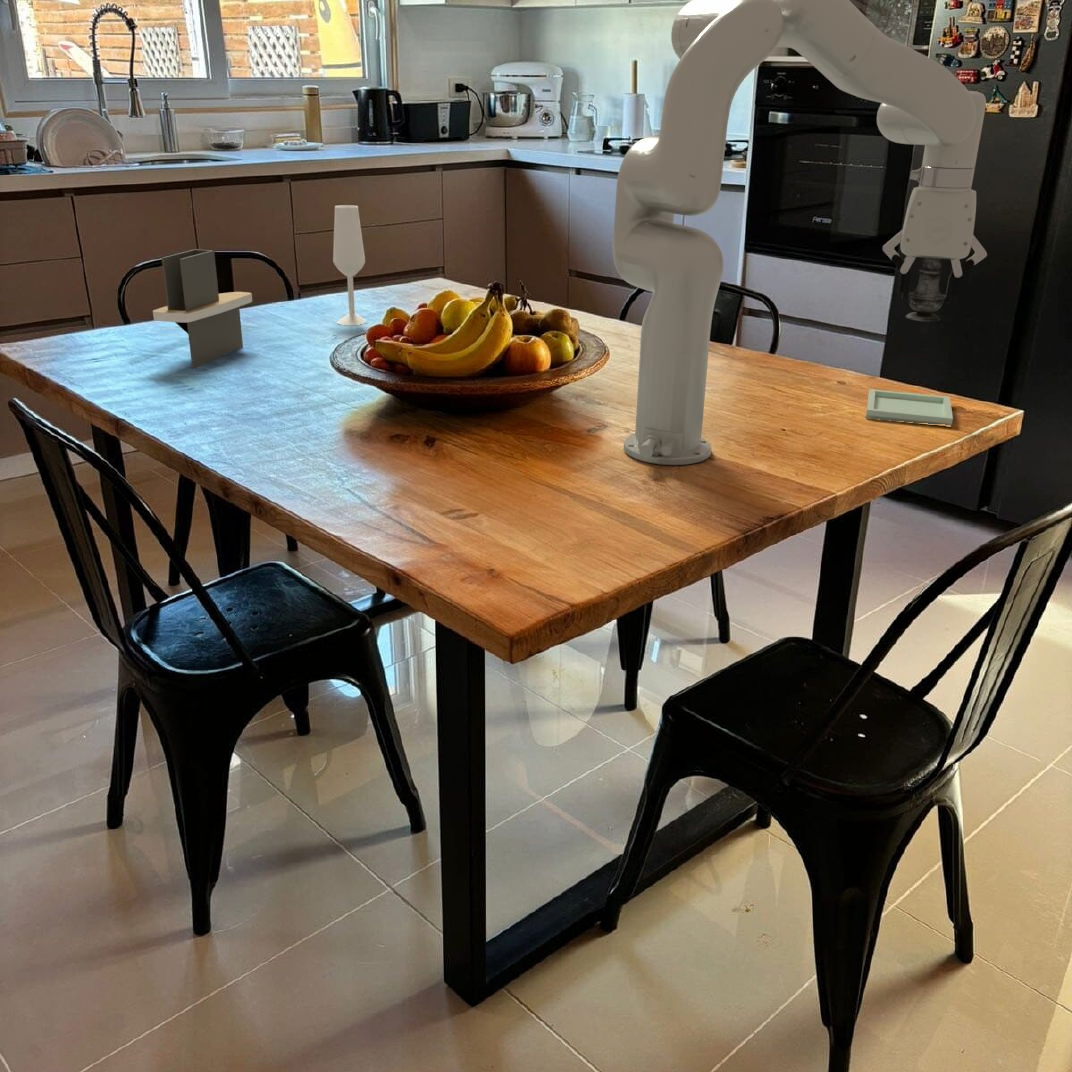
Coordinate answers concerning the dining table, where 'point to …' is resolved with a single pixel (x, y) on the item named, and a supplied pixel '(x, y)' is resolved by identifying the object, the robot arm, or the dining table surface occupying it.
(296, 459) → the dining table surface
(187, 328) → the architectural model
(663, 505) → the dining table surface
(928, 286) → the salt shaker
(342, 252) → the champagne flute
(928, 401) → the tray
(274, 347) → the dining table surface
